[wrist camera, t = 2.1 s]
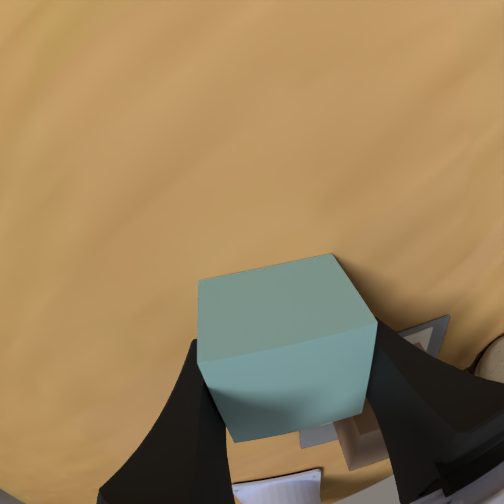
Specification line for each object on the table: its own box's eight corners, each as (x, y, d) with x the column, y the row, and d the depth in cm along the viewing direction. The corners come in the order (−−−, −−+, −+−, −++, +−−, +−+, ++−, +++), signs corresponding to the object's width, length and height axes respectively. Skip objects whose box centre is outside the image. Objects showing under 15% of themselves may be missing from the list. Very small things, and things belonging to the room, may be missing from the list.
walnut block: (403, 393, 17) (427, 441, 13) (331, 417, 17) (349, 471, 13) (419, 341, 15) (455, 396, 11) (333, 369, 14) (360, 435, 11)
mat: (413, 410, 19) (415, 412, 19) (300, 446, 19) (301, 449, 19) (448, 314, 14) (451, 317, 14) (291, 362, 14) (293, 367, 14)
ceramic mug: (526, 309, 16) (581, 373, 10) (506, 367, 20) (544, 423, 14) (420, 377, 17) (468, 468, 11) (415, 423, 21) (446, 492, 15)
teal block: (332, 345, 14) (361, 413, 10) (227, 368, 14) (234, 442, 10) (331, 253, 12) (377, 322, 8) (198, 280, 11) (196, 362, 8)
